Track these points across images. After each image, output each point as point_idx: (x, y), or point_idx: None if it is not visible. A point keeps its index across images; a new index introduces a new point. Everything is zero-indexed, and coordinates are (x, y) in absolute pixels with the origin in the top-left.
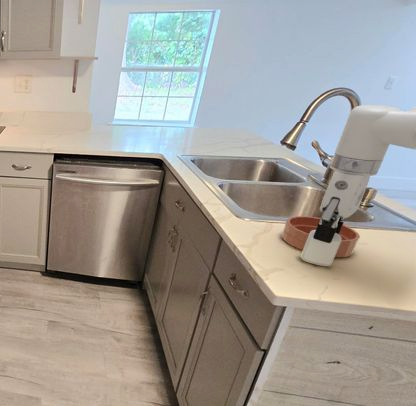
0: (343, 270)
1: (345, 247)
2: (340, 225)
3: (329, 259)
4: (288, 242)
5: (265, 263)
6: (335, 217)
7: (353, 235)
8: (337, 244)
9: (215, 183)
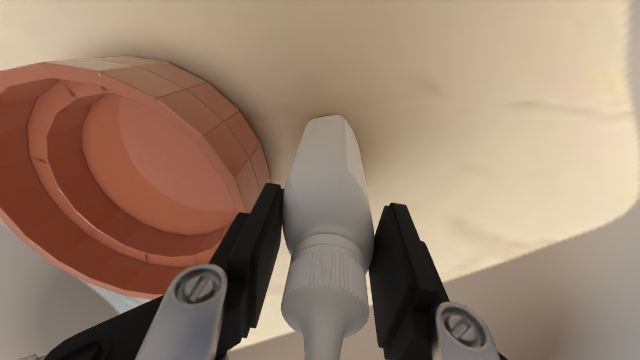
0: (326, 68)
1: (192, 99)
2: (262, 248)
3: (351, 135)
4: None
5: (441, 254)
6: (228, 329)
7: (27, 87)
8: (351, 164)
9: None
